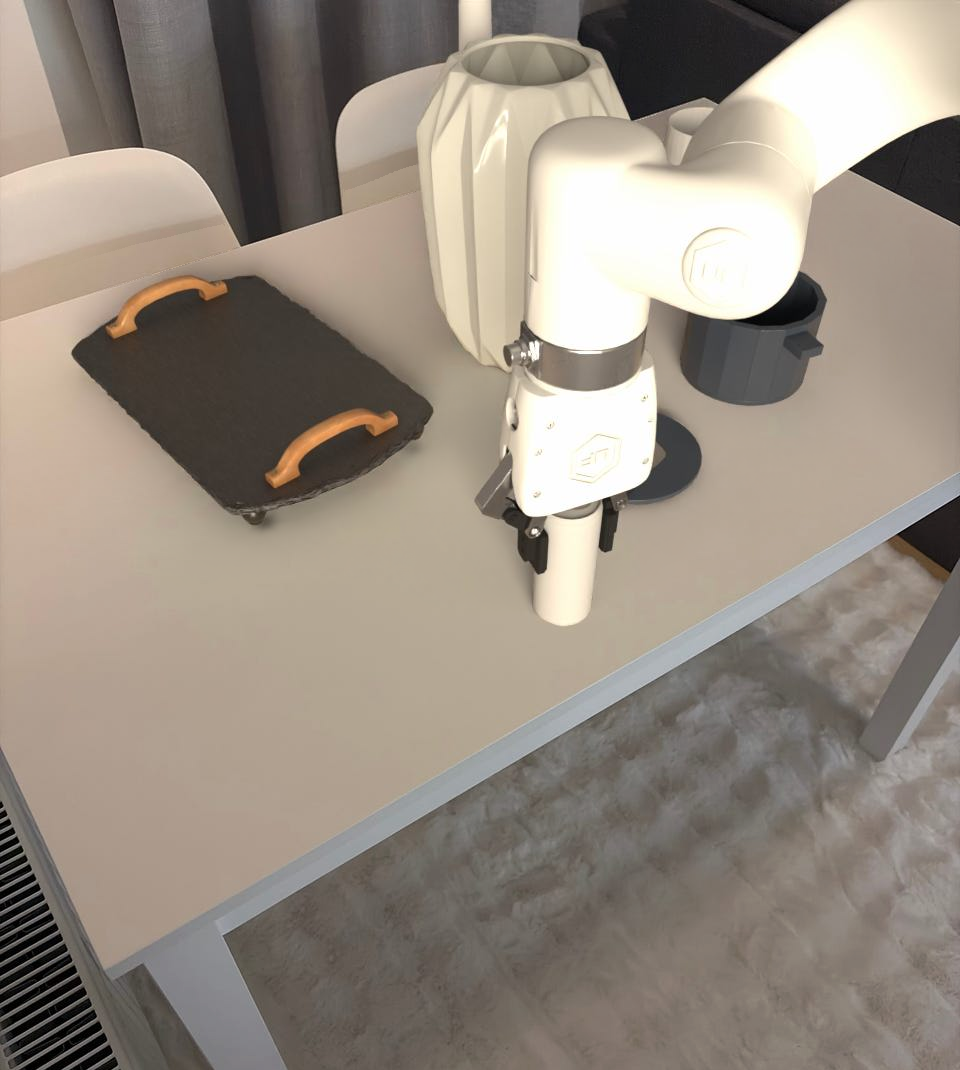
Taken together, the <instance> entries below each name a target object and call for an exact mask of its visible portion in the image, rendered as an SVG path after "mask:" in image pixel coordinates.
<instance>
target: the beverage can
mask: <svg viewBox="0 0 960 1070" xmlns="http://www.w3.org/2000/svg"><path fill="white" fill-rule="evenodd" d="M602 512H603V504H602V499H600V500H597V501H594V502H590V503H587V504H584V505H581V506H577V507H574V508H571V509H568V510H564V511H561V512H558V513H554V514H550V515H548V516H547V519H546V522H545V525H544V527H543V528H544V530H545V531H546V532H547V534H548V537H549V544H548V560H547V570H546V571H545V573H543V574H540V575H538V574H537V573H536V572H535V570H534V569H533V582H532V601H531V602H532V607H533V610H534V611H535V614H536V615H538V616H539V617H540V618H541V619H542V620H543V621H545V622H547V623H549V624H551V625H554V626H558V627H571V626H573V625H577V624H579V623H580V622H582V621H583V620H585V619H586V618H587V616H588V615H589V614H590V612H591V611H592V603H593V595H594V587H595V579H596V578H595V577H596V569H597V562H598V553H599V547H598V546H599V537H600V529H601V520H602Z"/></svg>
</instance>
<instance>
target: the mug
mask: <svg viewBox="0 0 960 1070" xmlns="http://www.w3.org/2000/svg"><path fill="white" fill-rule="evenodd" d="M715 108H716V107H708V106H699V107H698V106H696V107H695V106H694V107H686V108H683V109H680V110H677V111H675V112H674V113H673V114H672V115H670V116H669V117H668V118H667V122H666V124H665V125H666V126H665V133H664V138H663V145H664V147H665V149H666V152H667V156H668V160H669V162H670V163H671V164H673V165H680V163H681V160H682V158H683V156H684V153H685V151H686V149H687V146H688V144H689V142H690V140H691V138H692V136H693V135H694V133H695V132H696V130H697V129H698V128H699V126H700V125H701V124H702V122H703V121H704V120H705V118H706V117H707V116H708V115H709V114H710V113H711V112H712V111H713V110H714V109H715Z"/></svg>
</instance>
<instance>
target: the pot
mask: <svg viewBox="0 0 960 1070" xmlns="http://www.w3.org/2000/svg"><path fill="white" fill-rule="evenodd" d="M827 302H828V299H827V296H826V295H825V292H824V290H823V288H822V286H821V284H820V283H818V282H817V281H816V280H814V279H813V278H812V277H811V276H809V275H808V274H807V273H805V272H804V271H803V272H802V271H800V270H799V271H798V274H797V276H796V278H795V280H794V282H793V284H792V285H791V287H790V288H789V290H788V291H787V293H786V294H785V295H784V296H783V297H782V298H781V299H780V300H779V301H778V302H777V303H776V304H774V305H773V306H772V307H770V308H769V309H767V310H765V311H764V312H762V313H760V314H757V315H754V316H751V317H747V318H742V319H731V320H726V319H717V318H710V317H706V316H702V315H698V314H694V313H691V312H688V311H687V316H686V323H685V328H684V334H683V341H682V346H681V351H680V357H679V359H680V370H681V373H682V375H683V377H684V379H685V380H686V381H687V382H688V384H690V385H691V386H692V387H693V388H694V389H695V390H697V391H698V392H699V393H702V394H703V395H705V396H707V397H709V398H711V399H714V400H717V401H720V402H723V403H727V404H732V405H738V406H764V405H771V404H775V403H778V402H781V401H784V400H786V399H788V398H790V397H791V396H793V395H794V394H795V393H796V392H797V391H798V390H799V389H800V388H801V387H802V386H803V385H802V384H803V383H804V379H805V375H806V372H807V370H808V366H809V363H810V359H811V358H814V357H818V356H822V353H823V350H824V348H825V345H824V344H823V343H822V342H821V341H819V340H818V339H817V336H818V332H819V329H820V325H821V322H822V320H823V319H822V318H823V317H824V316H823V315H824V312H825V309H826V305H827Z"/></svg>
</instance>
